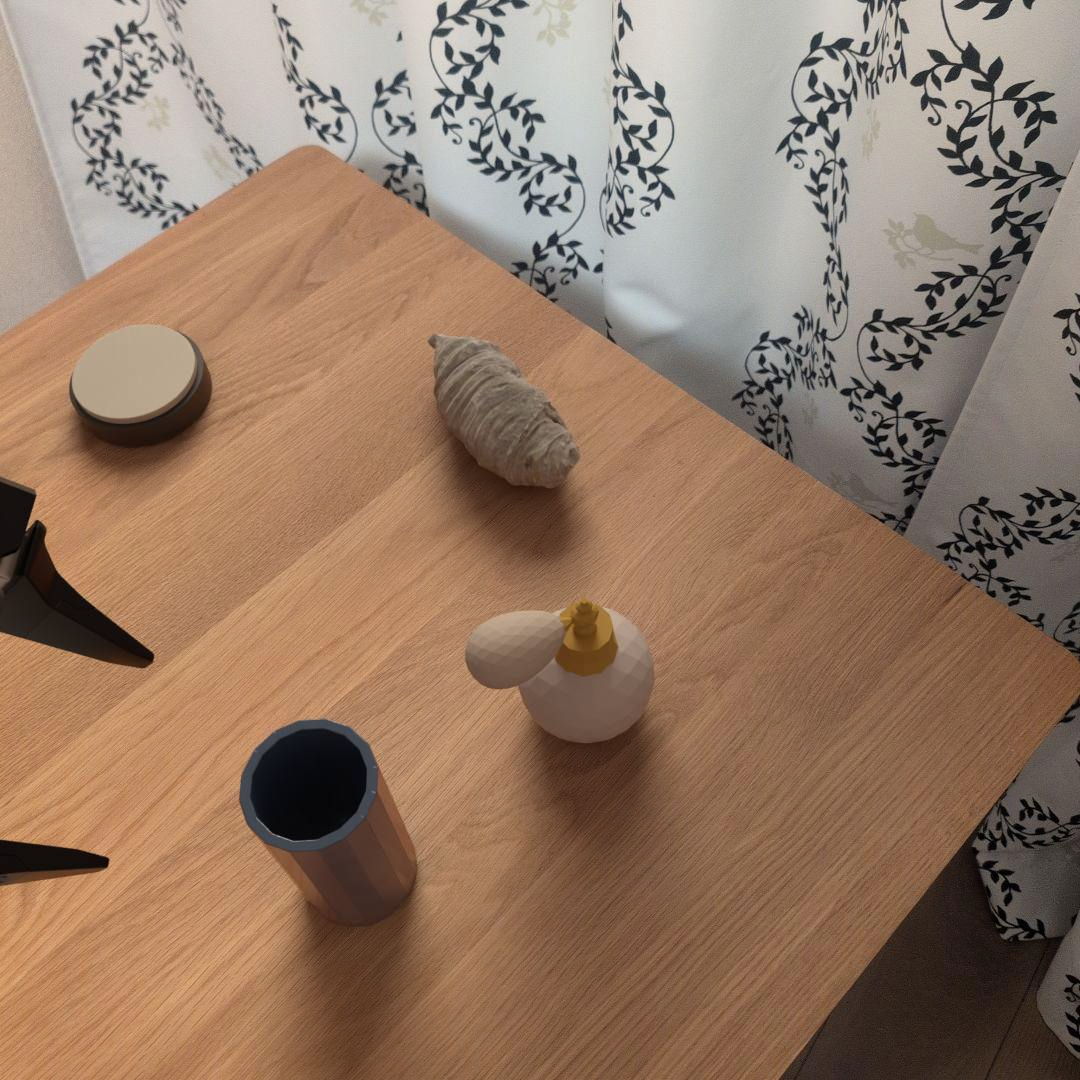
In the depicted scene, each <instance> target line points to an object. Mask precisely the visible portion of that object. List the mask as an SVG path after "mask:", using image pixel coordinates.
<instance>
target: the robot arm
mask: <svg viewBox="0 0 1080 1080" xmlns="http://www.w3.org/2000/svg"><path fill="white" fill-rule="evenodd" d="M36 491H37V490H36V489H33V488H32V487H28V486H26V485H23V484H22V483H18V482H17V481H16V482H15V481H13V480H10V479H8V478H5V477H2V476H0V633H2V634H6V635H9V636H12V637H16V638H20V639H23V640H26V641H30V642H34V643H37V644H41V645H44V646H48V647H51V648H55V649H59V650H62V651H66V652H68V653H72V654H76V655H79V656H82V657H86V658H90V659H93V660H97V661H100V662H103V663H108V664H113V665H118V666H124V667H130V668H137V669H147V668H148V667H149V666H151V665H152V664H153V663H154V662H155V661H154V660H155V653H154V652H153V651H152V650H150V649H149V648H148V647H147V646H145V644H142V643H141V642H140V641H139V640H138V639H136V638H135V637H134V636H133V635H131V634H130V633H129V632H128V631H127V630H125V629H124V628H122V627H121V626H120V625H118V624H117V623H116V622H115V621H114V620H112V619H111V618H110V617H109V616H108V615H106V614H104V613H103V612H102V611H101V610H99V608H97V607H96V606H95V605H94V604H92V603H91V602H89V601H88V600H87V599H86V598H85V597H84V596H83V595H81V593H79V592H78V591H77V590H76V589H75V588H74V587H73V586H72V584H70V583H69V582H68V581H67V580H66V579H65V578H64V576H62V575H61V574H60V573H59V571H58V570H57V568H56V566H55V564H54V562H53V559H52V556H51V555H50V552H49V550H48V548H47V546H46V536H47V532H48V528H47V526H46V525H45V524H44V523H43V522H42V521H41V520H39V519H35V520H34V521H33V522H32V524H31V525H30V526H29V522H30V518H31V515H32V512H33V509H34V506H35V502H36V499H37V496H38V495H37V492H36ZM28 526H29V527H28ZM109 865H110V857H107V856H104V855H101V854H97V853H95V852H94V853H93V852H90V851H87V850H83V849H79V848H74V847H65V846H57V845H48V844H42V843H33V842H32V843H31V842H23V841H15V840H9V839H0V887H3V886H10V885H11V886H12V885H19V884H26V883H33V882H40V881H47V880H54V879H60V878H61V879H62V878H66V877H67V878H68V877H74V876H81V875H89V874H95V873H100V872H102V871H104V870H107V869H108V868H109Z"/></svg>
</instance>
